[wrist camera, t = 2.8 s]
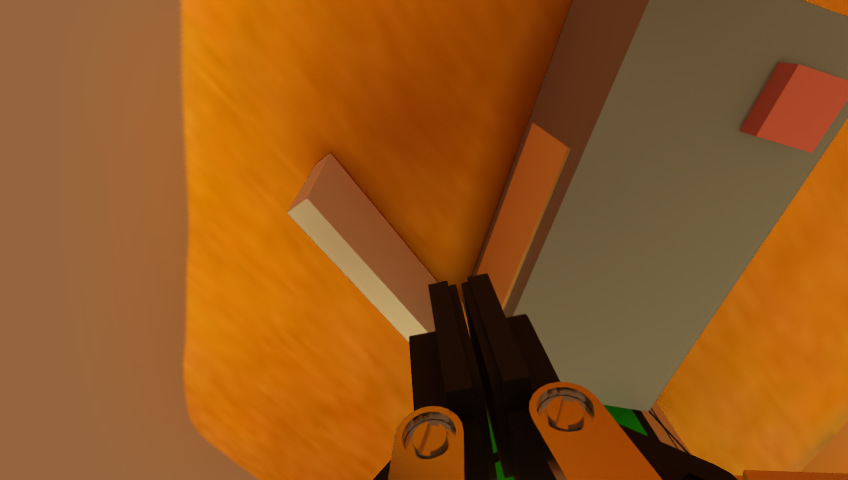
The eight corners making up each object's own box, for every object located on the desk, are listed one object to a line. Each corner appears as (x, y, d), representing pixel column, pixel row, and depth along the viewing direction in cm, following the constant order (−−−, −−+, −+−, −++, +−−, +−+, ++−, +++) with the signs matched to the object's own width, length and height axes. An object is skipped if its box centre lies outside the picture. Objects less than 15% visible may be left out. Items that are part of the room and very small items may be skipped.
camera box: (596, -74, 18) (716, -134, 12) (773, -10, 20) (974, -28, 13) (460, 300, 27) (482, 397, 20) (593, 326, 28) (656, 424, 21)
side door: (307, 169, 22) (274, 223, 16) (332, 150, 22) (307, 198, 16) (442, 324, 27) (454, 409, 21) (464, 310, 27) (483, 393, 21)
